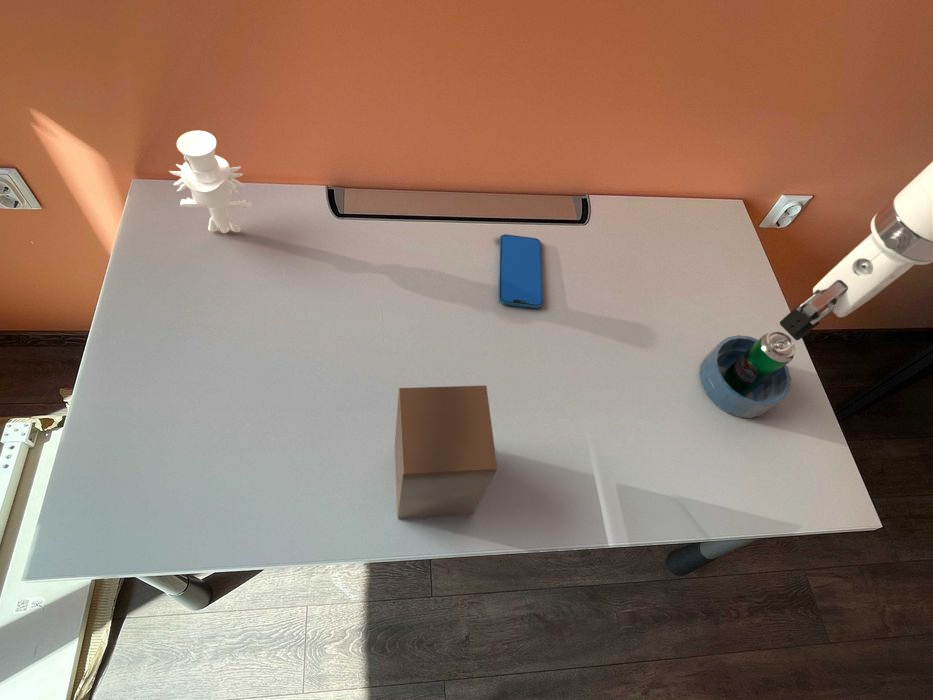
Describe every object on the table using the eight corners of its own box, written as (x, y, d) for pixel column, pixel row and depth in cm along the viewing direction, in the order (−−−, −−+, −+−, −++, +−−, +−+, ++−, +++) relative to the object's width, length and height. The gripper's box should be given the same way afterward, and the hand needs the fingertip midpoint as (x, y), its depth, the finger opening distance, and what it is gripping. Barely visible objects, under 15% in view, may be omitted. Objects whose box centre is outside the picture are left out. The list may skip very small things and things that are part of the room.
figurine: (260, 215, 98) (239, 126, 82) (256, 250, 94) (233, 164, 78) (195, 213, 96) (160, 122, 81) (188, 249, 92) (150, 160, 77)
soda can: (715, 372, 93) (757, 332, 83) (741, 365, 94) (786, 326, 84) (731, 399, 91) (776, 362, 81) (757, 393, 92) (805, 355, 82)
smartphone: (541, 238, 102) (543, 306, 94) (539, 242, 103) (542, 310, 95) (500, 233, 102) (499, 301, 94) (499, 237, 102) (498, 305, 94)
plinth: (465, 442, 82) (486, 385, 66) (473, 513, 77) (497, 469, 61) (394, 446, 80) (398, 387, 65) (397, 519, 75) (403, 474, 60)
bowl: (786, 396, 93) (806, 382, 89) (737, 432, 89) (756, 419, 84) (732, 340, 98) (748, 323, 93) (683, 371, 93) (697, 356, 89)
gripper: (898, 285, 58) (792, 366, 72) (983, 225, 64) (870, 310, 79) (840, 233, 60) (749, 321, 75) (927, 180, 67) (828, 271, 81)
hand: (811, 316), depth 77 cm, fingers open, 9 cm apart
